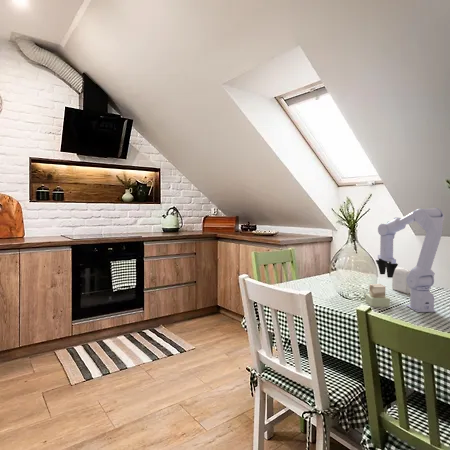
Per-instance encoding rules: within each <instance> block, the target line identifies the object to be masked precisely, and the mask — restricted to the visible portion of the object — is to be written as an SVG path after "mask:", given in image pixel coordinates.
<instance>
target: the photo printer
mask: <svg viewBox="0 0 450 450" xmlns="http://www.w3.org/2000/svg"><path fill="white" fill-rule="evenodd" d="M410 271H411V270H409V269H407V268H405V267H402V266H401V267H400V266H399V267H396V269H395V271H394V274H393V277H392V279H391V280H392V282H391V289H392V290H395V291H398V292H401V293H404V294H411V288H409V286H408V284H407V281H406V278H407V276H408V275H409V273H410Z"/></svg>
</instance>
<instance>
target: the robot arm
mask: <svg viewBox="0 0 450 450" xmlns="http://www.w3.org/2000/svg"><path fill="white" fill-rule="evenodd" d="M445 218H446V215H445V214H444V212H443V211H442V209H441V208H439V207H431V208H421V207H419V208H417V209H414V210H413V211H412V212H410V213H408V214H407V215H405V216H403V217H397V216H396V217H393V220H390V221H387V223H380V224H379V225H378V227H377V233H378V235H379V236H380V238H379V239H380V245H379V248H380V249H379V250H380V251H379V254H377V259H376V260H375V262H376V264H377V266H378V269H379V270H378V271H379V274H380V275H386V277H387V278H388V279H391V278H392V277H393V274H394V271H395V269H396V268H398V266H399V263H397V259H395V257H394V239H395V236H396V234H397V232H400V231H402V230H404V229H405V228H406V225H409V224H412V223H415V222H416V223H417V224H418V225H419V226H420V227H421V228H422V230H424V232H425V236H424V238H423V239H424V240H423V242H422V247H421V250H420V253H419V256H418V259H417V262H416V266H414V267H413V268H411V269H410V270H409V271H410V273H409V275H408V276H407V278H406V281H407V284H408V286H409V288H411V293H409V294H410V298H409V299H410V301H409V303H410V304H405V306H406V307H408V308H409V309H411V310H413V311H415V312H416V313H436V312H437V311H436V309H435V297H434V294H433V293H432V292H431V291H430V290H431V289H432V286H434V283H435V272H434V271H433V270H432V267H433V264H434V262H435V261H434V260H435V258H436V253H437V251H438V249H439V248H438V247H439V244H440V241H441V238H442V235H443V231H444V230H443V226H444V225H443V223H444V220H445Z"/></svg>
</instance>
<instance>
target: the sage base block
mask: <svg viewBox="0 0 450 450" xmlns="http://www.w3.org/2000/svg"><path fill="white" fill-rule="evenodd" d="M365 303H366V304H368V306H370V307H375V308H376V307H379V308H380V307H383V308H384V307H385V308H386V307H387V308H388V307H389V308H391V298H390V297H388V296H387V295H385V297H382V298H374V297H372V296H371V295H369V293H365Z"/></svg>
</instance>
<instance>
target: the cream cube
mask: <svg viewBox="0 0 450 450" xmlns="http://www.w3.org/2000/svg"><path fill="white" fill-rule="evenodd" d="M368 291H369V293H368V294H369V295H371V296H372V297H374V298H382V297H385V296H386V286H385V285H383V284H381V283H370V284H369V289H368Z"/></svg>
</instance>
